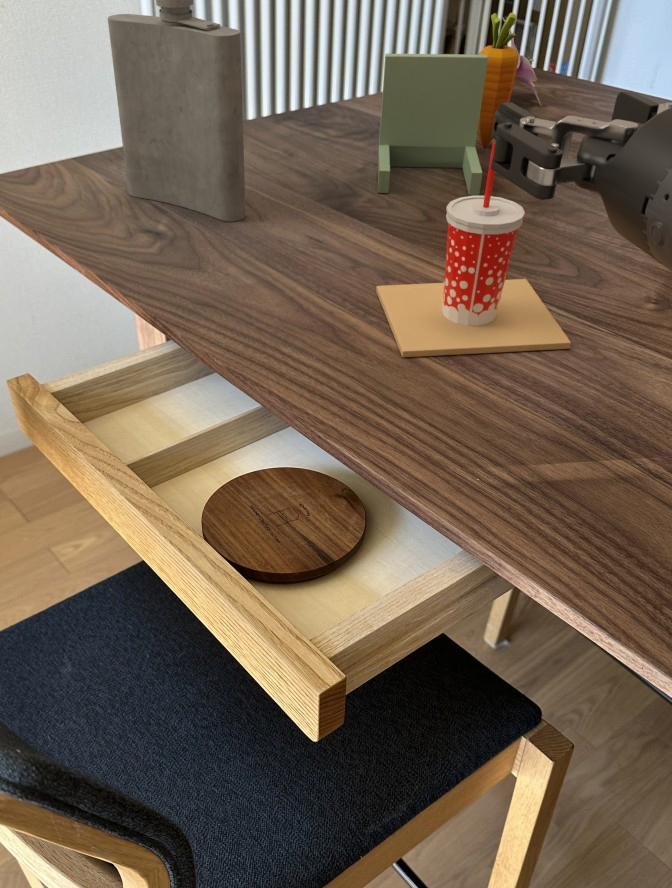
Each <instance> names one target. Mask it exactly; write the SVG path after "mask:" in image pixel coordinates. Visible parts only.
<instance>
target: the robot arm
mask: <svg viewBox="0 0 672 888" xmlns="http://www.w3.org/2000/svg"><path fill="white" fill-rule="evenodd" d="M613 107H614V108H613V111H612V114H611V115H612V116H611V119H610V120H611V121H603V120H598V119H592V118H588V117H582V116H576V115H570V114H569V115H567V116H565V117H563V118H561V119H560V120H557V121H554V120H548V119H542V118H539V117H538V118H537V116H535V115H534V114H532V113H530V112H528V111H527V110H526V109H524V108H522V107H521V106H519V105H517V104H515V103H514V102H511V101H509V103H501V104H500V105H499V107H498V111H496V112H495V115H494V122H493V129H492V138H493V140H495V141H494V142H495V149H494V155H493V159H492V164H491V169H492V170H494V171H495V173H497V174H499V175H500V176H502V178H504V179H506V180H508V181H509V182H510V183H512V184H514V185H515V186H517V187H518V188H519V189H521V190H523V191H524V192H526V193H527V194H529V195H530V196H532V197H533V198H535V199H539V200H541V201H542V200H543V201H545V200H551V199H553V198H554V197H555V194H556V189H557V185H560V184H564V185H570V186H573V187H578V188H580V189H583V190H585V191H588V192H589V193H590V194H591V195H594V196H599V197H600V198H601V200H602V203H603V205H604V210H605V211H606V212H605V213H606V215H607V217H608V220H609V222H610V225H611V226H612V227H613V229H614V230H615V231H616V232H617V234H619V235H620V236H621V237H622V238H624V239H625V240H627V241H628V242H629V243H631V244H632V245H633V246H635V247H637V248H638V249H639V250H641V251H643V252H644V253H645V254H647V255H648V256H649V257H651V258H652V259H654V260H655V261H656V262H658V263H659V264H661V265H662V266H664V267H665V268H666V269H668V270H669V271H670V272H672V102H665V103H657V102H655V101H653V100H652V99H649V98H648V97H645V96H643V95H641V94H639V93H637V92H635V91H632V90H627V91H619V93H618V94H617V96H616V98H615V103H614V106H613ZM574 133H576V134H579V135H580V134H581V135H583V137H582V139H581V142H580V145H579V148H578V151H577V154H576V158H568V157H569V153H570V149H571V148H570V147H571V143H572V139H573V134H574ZM539 135H544V136H548V137H550V139H551V143H549V142H548V141H546V140H544V139H542V138H540V137H539Z"/></svg>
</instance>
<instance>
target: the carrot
mask: <svg viewBox="0 0 672 888" xmlns="http://www.w3.org/2000/svg"><path fill="white" fill-rule="evenodd" d="M490 19H491V23H492V25H491V26H492V43H493V44H491V45H487V46H485V47H484V48H483V49H481V50H480V51H479V52H478V54H477V55H487V56H488V61H487V68H486V75H485V82H484V89H483V96H482V103H481V110H480V117H479V124H478V131H477V138H478V141H479V143H480V145H481V147H483V148H487V147H488V146H489V145H490V144H491V142H492V141H493V140H494V138H492V129H493V122H494V115H495V112H496V111H498V107H499V105H500V104H501V103H510V102H511V101H510V100H511V98H512V94H513V89H514V85H515V81H516V79H515V76H516V71H517V65H518V59H519V55H520V54H519V55H518V53H519V51H518V52H517V51H516V50H515V49H514V48H512V47H511V46H509V45H507V44H508V43H510V42H511V39H512V38H513V39H514V38H515V37H516V36H517V35H516V33H515V32H512V33H510V32H509V30H512V28H513V26H515V24H517V22H518V19H517V15H516V14H515V13H514V12H510V13H509V14H508V16H507V17H506V19H505V22H504V23H503V25H502V26H501V22H502V21H501V18H500V17H498V15H497V12H495V13H493V14H491V15H490ZM500 26H501V28H500ZM499 30H500V32H499ZM508 33H509V34H508Z"/></svg>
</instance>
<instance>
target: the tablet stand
mask: <svg viewBox="0 0 672 888" xmlns="http://www.w3.org/2000/svg"><path fill="white" fill-rule="evenodd" d="M487 61H488V56H487V55H478V54H468V53H467V54H455V53H444V54H443V53H385V55H384V65H383V66H384V67H383V78H382V79H383V80H382V95H381V107H380V108H381V110H380V122H379V123H380V124H379V136H378V151H377V194H389V191H390V190H389V189H390V180H391V179H390V178H391V167H400V168H401V167H402V168H445V169H446V168H448V169H453V168H455V169H459V168H460V169H462V172H463V176H464V181H465V184H466V189H467V194H468V196H480V192H481V187H482V179H483V169H482V166H481V163H480V159H479V155H478V151H477V148H476V144H477V138H478V135H477V131H478V124H479V117H480V110H481V103H482V96H483V89H484V82H485V75H486V68H487Z"/></svg>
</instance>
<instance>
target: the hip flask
mask: <svg viewBox="0 0 672 888" xmlns="http://www.w3.org/2000/svg"><path fill="white" fill-rule="evenodd" d="M155 3H156V6H157V7H160V8H159V11H158V12H159V16H156V15H155V16H154V15H145V14H133V13H118V14H112V15H109V16H107V24H108V32H109V41H110V50H111V57H112V66H113V75H114V76H113V77H114V83H115V91H116V92H115V93H116V99H117V108H118V117H119V125H120V134H121V142H122V151H123V158H124V168H125V175H126V185H127V193H128V196H130V197H133V198H140V199H145V200H150V201H155V202H161V203H165V204H169V205H174V206H178V207H181V208H184V209H189V210H192V211H195V212H198V213H201V214H204V215H207V216H209V217H212V218H215V219H217V220H219V221H222V222H227V223H228V222H229V223H231V222H238V221H242V220H244V219H245V218H246V214H247V213H246V212H247V211H246V181H245V179H246V178H245V143H244V111H243V79H242V78H243V74H242V72H243V71H242V45H241V44H242V42H241V40H242V39H241V30H239V29H236V28H232V27H227V26H222V25H221V24H220V23H216V22H213V21H210V20H205V19H202V18H198V17H195V16H193V10H192V9H191V6H193V5H194V0H155Z"/></svg>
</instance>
